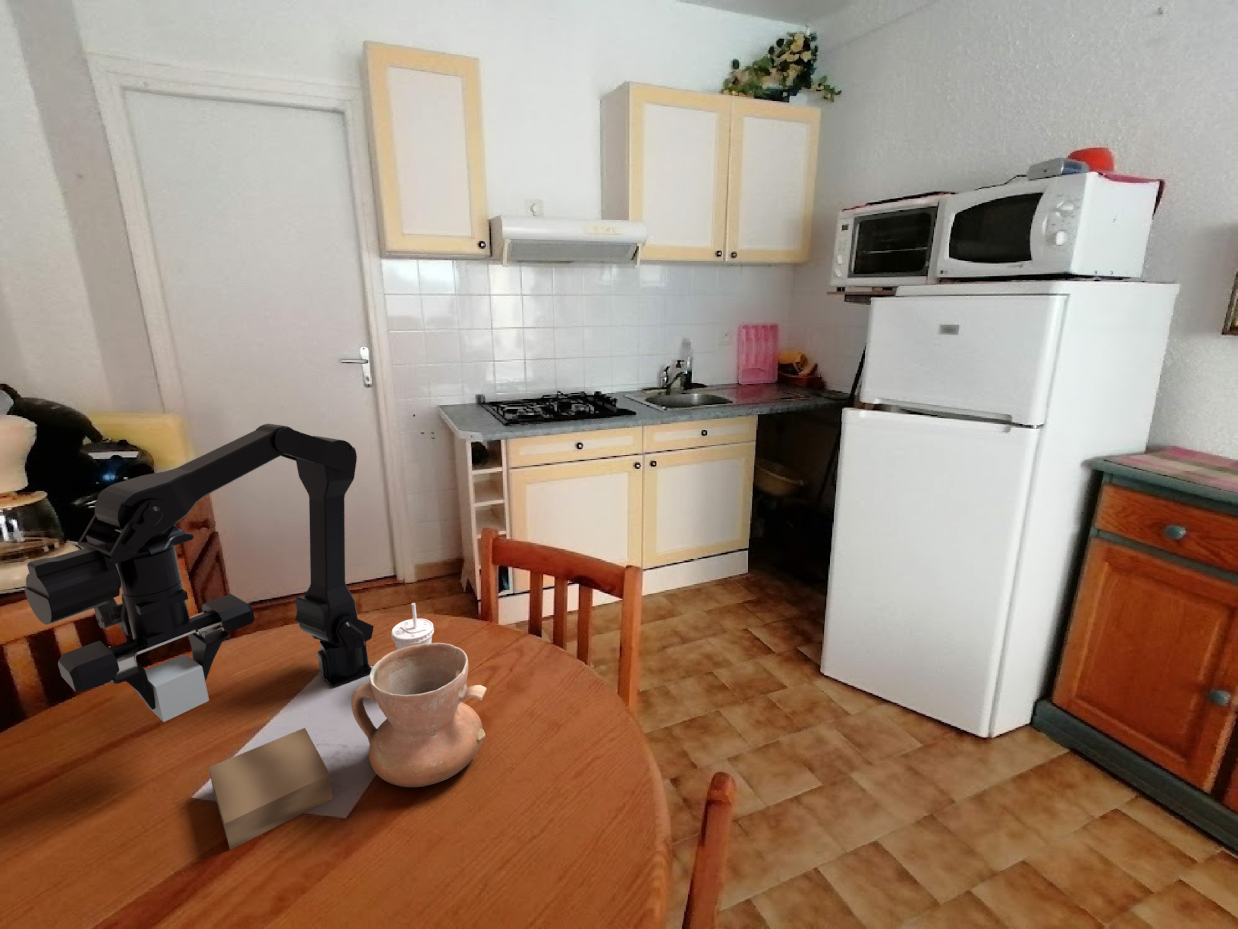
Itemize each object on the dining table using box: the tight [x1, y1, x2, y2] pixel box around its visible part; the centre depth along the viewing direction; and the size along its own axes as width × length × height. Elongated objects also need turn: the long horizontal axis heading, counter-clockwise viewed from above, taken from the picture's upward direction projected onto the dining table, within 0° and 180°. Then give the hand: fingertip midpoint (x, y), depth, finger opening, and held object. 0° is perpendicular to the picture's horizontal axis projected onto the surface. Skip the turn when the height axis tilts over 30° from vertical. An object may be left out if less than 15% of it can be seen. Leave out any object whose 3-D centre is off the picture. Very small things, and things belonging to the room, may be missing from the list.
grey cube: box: [145, 653, 210, 723], centre depth 76 cm, size 5×5×5 cm
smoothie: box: [391, 602, 435, 650], centre depth 95 cm, size 6×6×14 cm
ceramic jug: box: [350, 642, 487, 788], centre depth 79 cm, size 18×14×14 cm
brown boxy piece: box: [208, 727, 334, 850], centre depth 74 cm, size 11×11×4 cm
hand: (177, 696), depth 76 cm, fingers closed on grey cube, 5 cm apart
